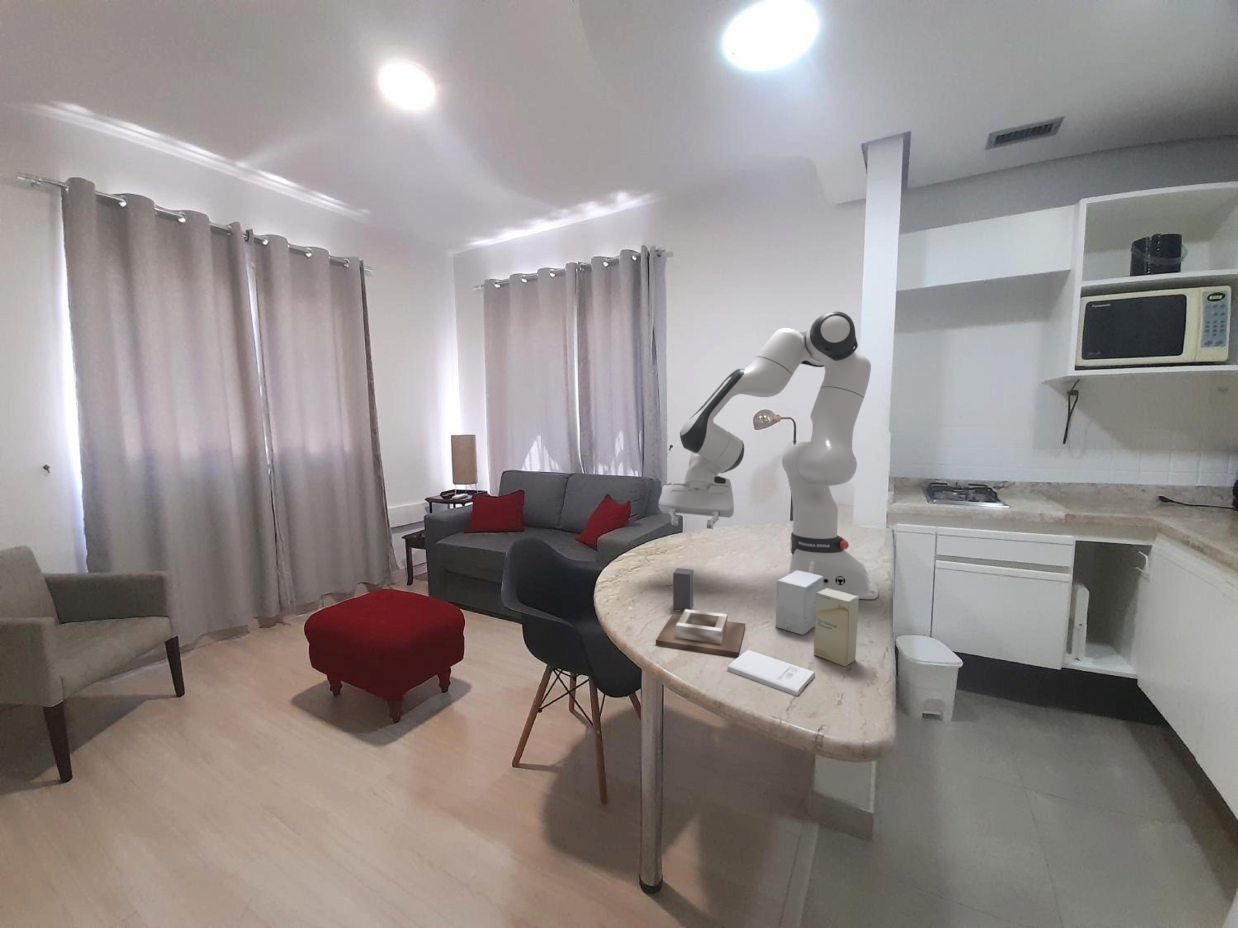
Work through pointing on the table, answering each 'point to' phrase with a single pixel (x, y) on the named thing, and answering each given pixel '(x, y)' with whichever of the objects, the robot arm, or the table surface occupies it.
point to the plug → (682, 589)
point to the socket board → (703, 633)
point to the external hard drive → (771, 672)
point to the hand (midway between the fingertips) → (691, 525)
